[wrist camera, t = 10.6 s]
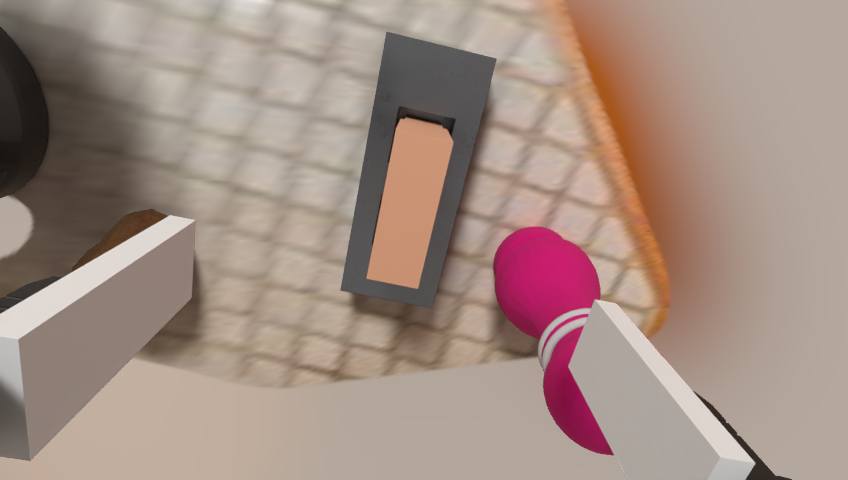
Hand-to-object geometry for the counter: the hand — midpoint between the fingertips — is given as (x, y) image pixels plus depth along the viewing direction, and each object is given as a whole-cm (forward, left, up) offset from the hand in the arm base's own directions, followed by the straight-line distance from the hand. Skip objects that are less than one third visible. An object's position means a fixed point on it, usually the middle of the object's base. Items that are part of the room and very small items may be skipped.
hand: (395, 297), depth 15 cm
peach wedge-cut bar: (0, 0, -20) cm, 20 cm away
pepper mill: (+11, -5, -21) cm, 24 cm away
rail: (0, 0, -21) cm, 21 cm away
